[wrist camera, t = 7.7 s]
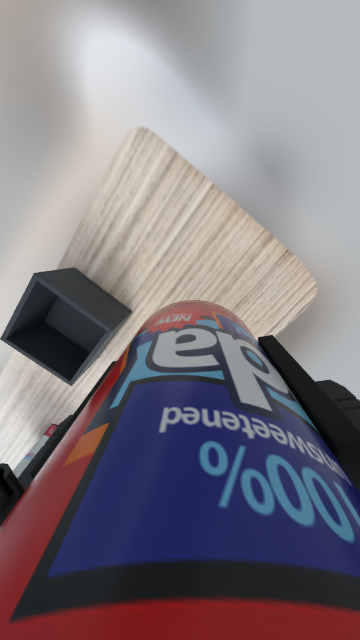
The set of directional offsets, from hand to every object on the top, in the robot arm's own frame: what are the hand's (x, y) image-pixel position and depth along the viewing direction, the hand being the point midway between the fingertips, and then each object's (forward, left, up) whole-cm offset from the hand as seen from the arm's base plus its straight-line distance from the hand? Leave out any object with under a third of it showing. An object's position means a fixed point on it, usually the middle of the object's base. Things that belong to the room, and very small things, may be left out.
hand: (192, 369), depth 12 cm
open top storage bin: (+18, -1, -20) cm, 26 cm away
